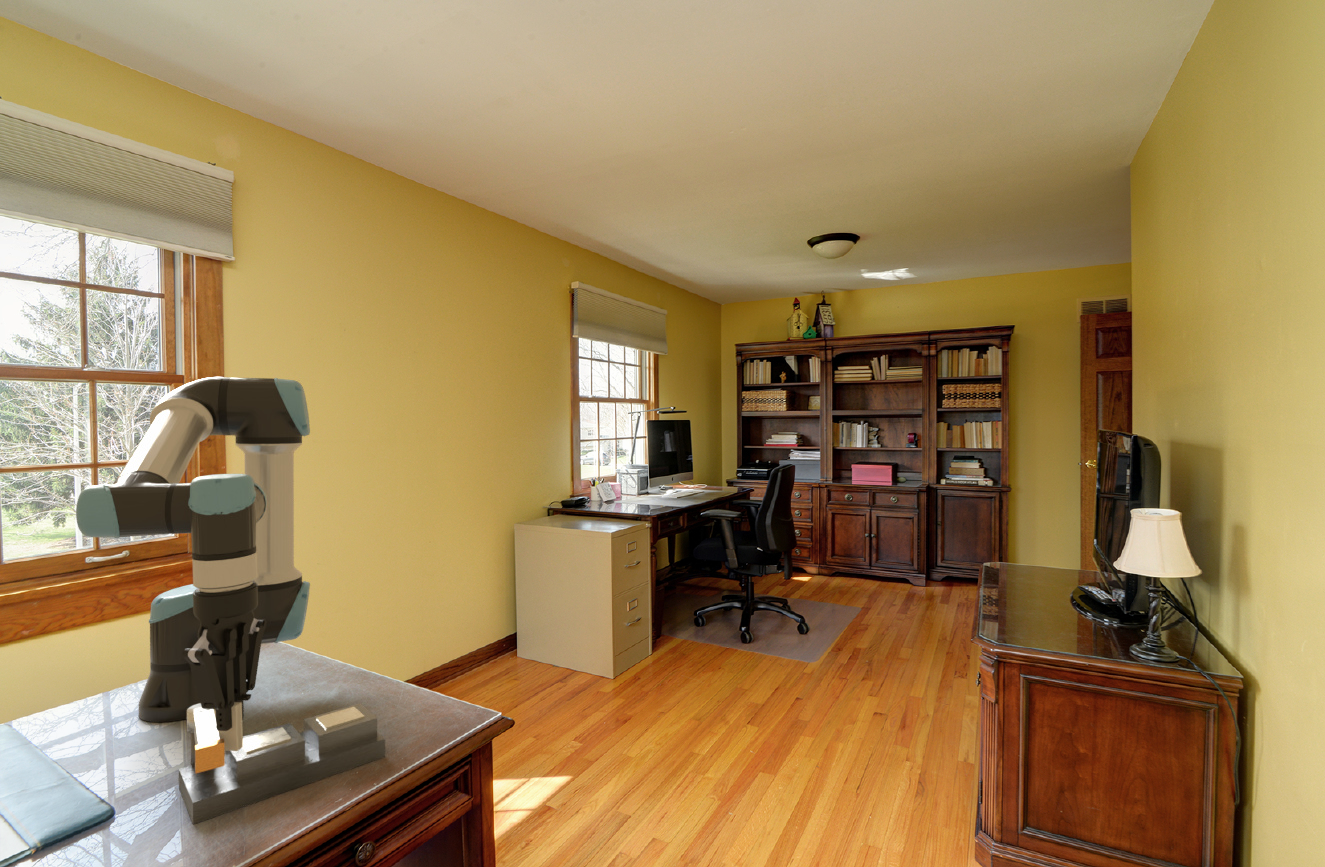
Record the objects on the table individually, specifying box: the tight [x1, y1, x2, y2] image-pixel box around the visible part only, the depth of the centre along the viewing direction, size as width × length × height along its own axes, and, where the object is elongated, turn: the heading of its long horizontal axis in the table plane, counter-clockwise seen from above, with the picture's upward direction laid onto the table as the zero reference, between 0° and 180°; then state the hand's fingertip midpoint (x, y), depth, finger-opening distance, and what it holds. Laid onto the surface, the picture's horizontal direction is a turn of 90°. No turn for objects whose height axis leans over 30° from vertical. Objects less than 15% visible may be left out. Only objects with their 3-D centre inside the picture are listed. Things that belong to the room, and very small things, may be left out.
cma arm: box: [186, 703, 225, 773], centre depth 93 cm, size 18×4×3 cm, turn 39°
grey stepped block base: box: [178, 702, 386, 825], centre depth 102 cm, size 14×26×8 cm, turn 135°
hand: (231, 748), depth 91 cm, fingers closed
